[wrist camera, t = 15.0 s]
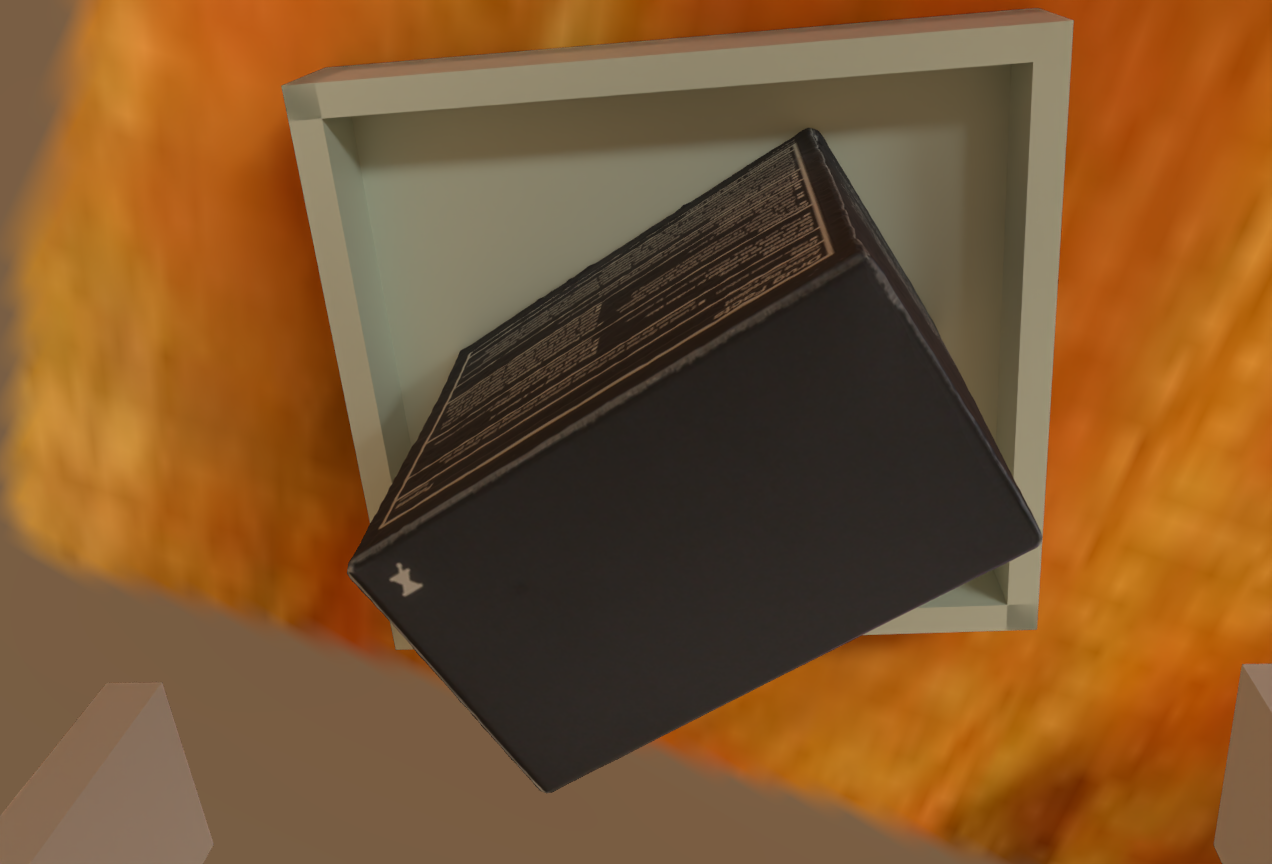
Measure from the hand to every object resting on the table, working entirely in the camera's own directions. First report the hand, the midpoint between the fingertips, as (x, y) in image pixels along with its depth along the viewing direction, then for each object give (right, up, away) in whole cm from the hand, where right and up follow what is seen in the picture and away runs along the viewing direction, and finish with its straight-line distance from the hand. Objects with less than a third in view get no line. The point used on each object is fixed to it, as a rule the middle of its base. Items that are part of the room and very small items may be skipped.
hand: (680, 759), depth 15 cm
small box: (+1, +6, +15) cm, 16 cm away
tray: (+1, +7, +16) cm, 17 cm away
